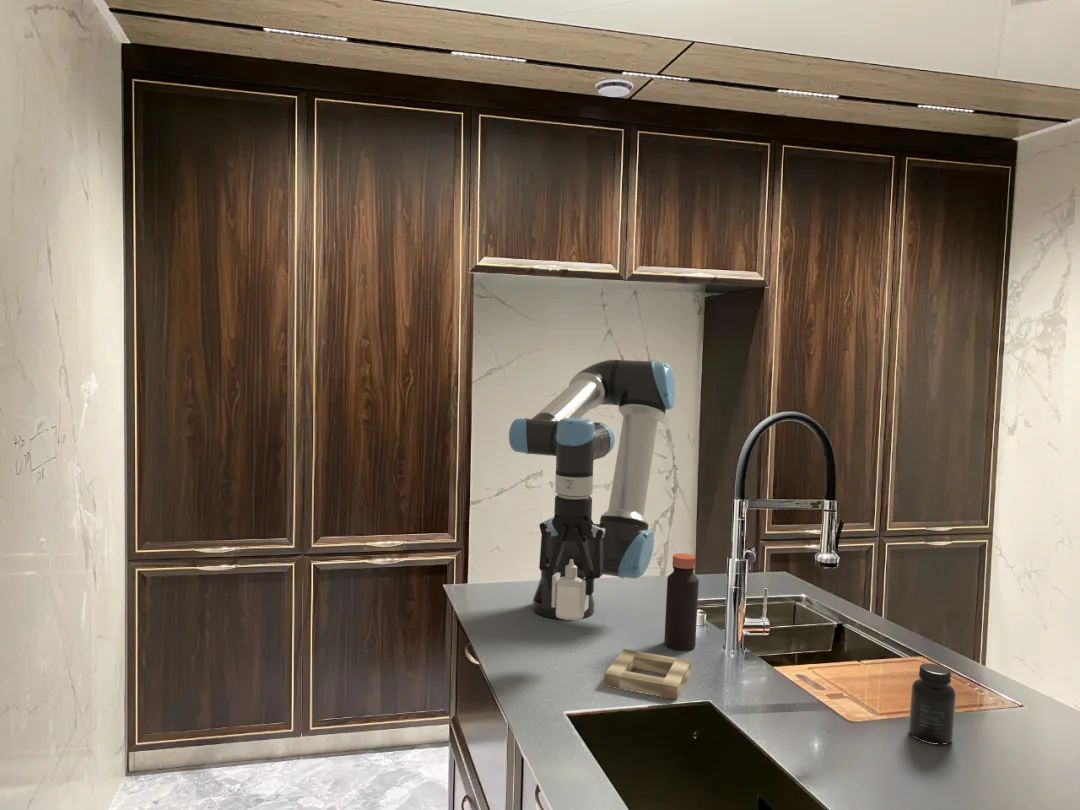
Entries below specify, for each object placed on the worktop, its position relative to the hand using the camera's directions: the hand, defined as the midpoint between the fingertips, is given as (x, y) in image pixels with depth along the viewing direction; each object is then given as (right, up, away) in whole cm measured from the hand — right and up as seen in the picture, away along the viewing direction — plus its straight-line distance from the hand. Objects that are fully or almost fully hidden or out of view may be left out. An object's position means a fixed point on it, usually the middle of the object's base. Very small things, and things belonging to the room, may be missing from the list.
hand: (569, 607), depth 165 cm
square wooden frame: (+15, -13, -6) cm, 21 cm away
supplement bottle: (+61, -16, -25) cm, 68 cm away
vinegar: (+25, -12, +13) cm, 30 cm away
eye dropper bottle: (0, -2, 0) cm, 2 cm away
